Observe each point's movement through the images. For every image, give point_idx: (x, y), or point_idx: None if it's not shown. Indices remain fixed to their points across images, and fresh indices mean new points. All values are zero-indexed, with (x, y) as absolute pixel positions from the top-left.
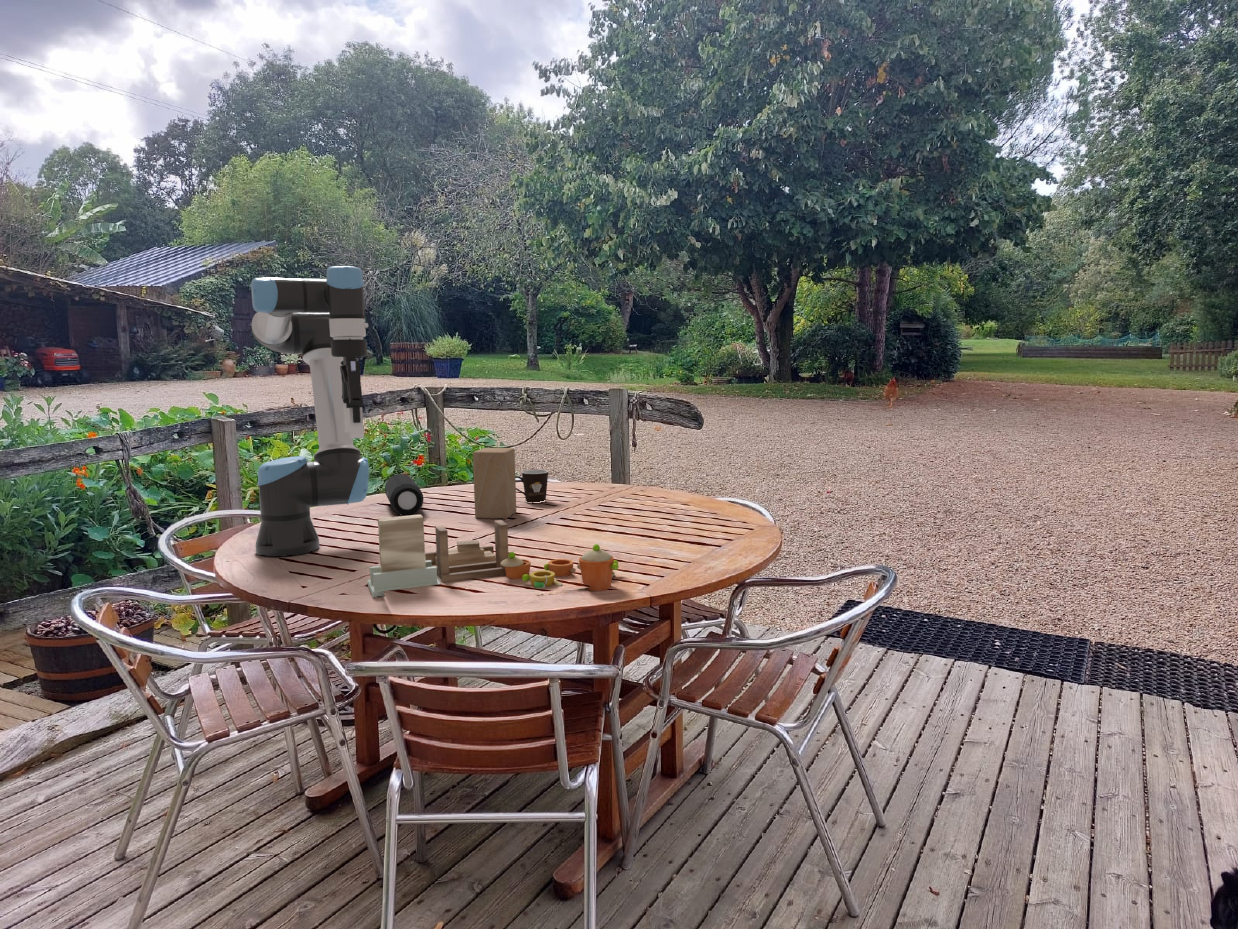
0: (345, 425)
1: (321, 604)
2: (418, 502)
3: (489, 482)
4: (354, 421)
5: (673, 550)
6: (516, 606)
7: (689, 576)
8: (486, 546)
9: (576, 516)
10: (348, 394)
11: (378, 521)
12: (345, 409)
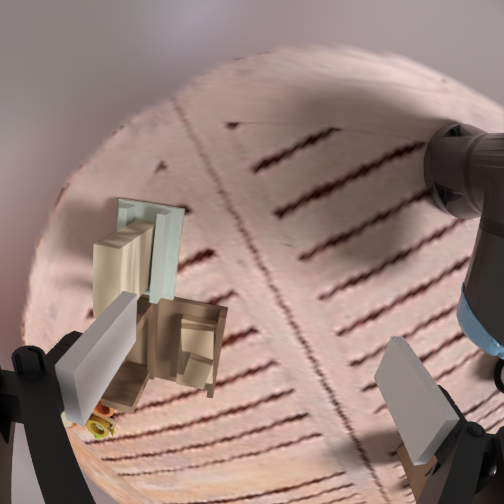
0: (400, 354)
1: (131, 131)
2: (499, 383)
3: (427, 470)
4: (69, 337)
5: (160, 489)
6: (38, 317)
7: (80, 451)
8: (212, 391)
9: (346, 493)
10: (50, 441)
11: (111, 246)
12: (428, 406)
